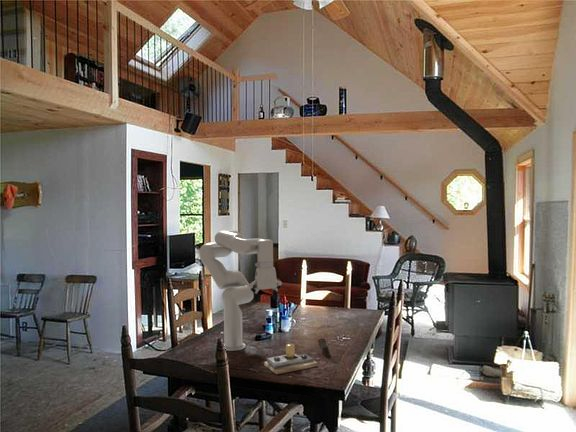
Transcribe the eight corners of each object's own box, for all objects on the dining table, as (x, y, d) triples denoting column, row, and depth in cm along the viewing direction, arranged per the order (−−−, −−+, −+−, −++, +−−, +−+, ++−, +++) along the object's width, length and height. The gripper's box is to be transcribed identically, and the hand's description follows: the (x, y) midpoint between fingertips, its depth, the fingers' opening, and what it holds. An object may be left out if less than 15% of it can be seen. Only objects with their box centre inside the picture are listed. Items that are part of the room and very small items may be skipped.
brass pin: (284, 361, 197) (284, 344, 197) (292, 360, 199) (291, 343, 199) (288, 364, 194) (288, 346, 194) (296, 362, 196) (296, 345, 196)
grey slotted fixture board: (267, 363, 195) (267, 356, 195) (305, 356, 205) (305, 349, 205) (274, 368, 188) (274, 361, 188) (313, 361, 198) (313, 354, 198)
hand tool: (318, 345, 226) (318, 336, 226) (325, 345, 226) (325, 336, 226) (320, 357, 207) (319, 348, 207) (328, 357, 207) (328, 348, 207)
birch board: (264, 365, 197) (264, 361, 197) (303, 357, 207) (303, 354, 207) (276, 374, 186) (276, 371, 186) (317, 366, 196) (317, 362, 196)
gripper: (251, 267, 199) (252, 303, 199) (284, 264, 206) (285, 299, 207) (245, 265, 205) (246, 300, 205) (278, 263, 213) (278, 297, 213)
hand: (265, 300), depth 206 cm, fingers open, 9 cm apart
